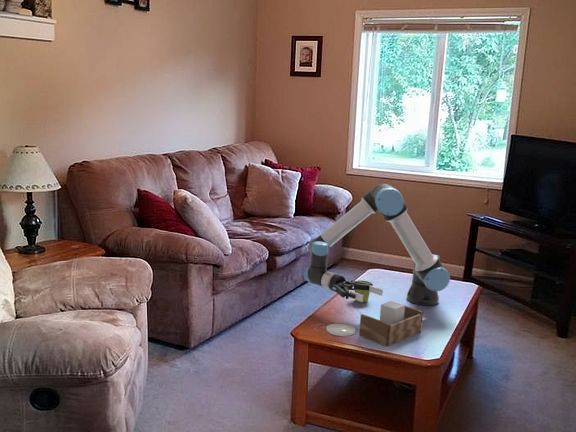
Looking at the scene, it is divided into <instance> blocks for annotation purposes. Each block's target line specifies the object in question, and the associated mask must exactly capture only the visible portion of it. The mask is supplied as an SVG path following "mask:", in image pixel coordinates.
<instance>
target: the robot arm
mask: <svg viewBox="0 0 576 432" xmlns="http://www.w3.org/2000/svg"><path fill="white" fill-rule="evenodd" d="M408 208H409V207H408V205H407V204H406V202H405V200H404V196H403V194H402V193H401V192H400V191H399V190H398V189H397V188H395V187H393V186H392V185H390V184H388V183H379V184H376V185H375V186H374V187H373V188H371V189H370V190H369V191H368V192H366V193H365V194H364V195H363V196H362V197H361V200H360V201H359V202H358V203H357V204H355V205H354V206H353V207H352V208H351V209H349V211H347V212H346V213H345V214H344V215H342V216H341V217H340V218H338V220H337V221H335V222H334V223H333V224H331V225H330V226H328V228H327V229H326V230H324V231H323V232H322V233H321V234H320V235H318V236H317V237H314V238H311V239H310V241H309V242H308V245H307V247H308V248H307V249H308V252H309V254H310V264H309V266H307V267H306V268H305V270H304V273H303V278H304V280H305V281H307V282H309V283H310V284H312V285H316V286H318V287H322V288H323V289H324V288H325V289H327V290H328V291H329V290H331V291H332V292H335V293H336V294H337V295H339V296H340V297H341V298H343V299H344V298H345V299H346V300H349V299H352V300H355V301H356V300H358V301H361V302H360V303H364V302H363V295H361V294H358V293H356V292H355V290H356V289H357V290H367V291H369V292H370V293H373V294H375V295H377V296H381V297H382V296H383V292H384V289H383V288H379V287H376V286H374V284H373V282H371V283H365V282H359V281H358V280H354V279H351V280H346V277H345V276H343V275H340V274H337V273H336V272H332V271H329V270H327V268H328V258H329V252H330V251H329V249H330V248H331V247H333V246H334V245H335V244H336V243H338V241H340V240H341V239H342V238H343V237H344V236H346V235H347V234H348V233H350V232H351V231H352V230H353V229H354V228H356V227H358V225H359V224H361V222H363V221H364V220H365V219H367V218H368V217H369V216H370V215H371V214H376V213H377V212H379V213H380V215H381V217H382V218H383V219H384V221H385V222H387V223H388V222H389V223H390V225H391V226H392V228H393V229H394V231H395V233H396V235H397V236H398V238H399V239H400V241H401V243H402V244H403V246H404V247H405V249H406V250H407V253H408V254H409V256H410V257H411V258H412V260H413V269H412V280H411V284H410V287H409V289H408V291H407V293H406V300H407V301H408V302H410V303H413V304H416V305H418V306H419V305H421V306H434V305H437V304H439V301H440V296H439V292H440V291H443V290H445V289H446V288H447V287H448V286H449V284H450V282H451V281H450V280H451V276H450V273H449V271H448V269H446V268H445V267H444V265H443V263H442V262H441V260H440V255H438V254H433V253H432V252H431V251H430V248H429V247H428V246H427V245H428V244H426V242H425V240H424V239H423V237H422V236H421V234H420V232H419V231H418V229H417V227H416V226H415V223H414V222H413V221H412V218H411V217H410V215H409V214H408Z"/></svg>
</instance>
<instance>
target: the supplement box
mask: <svg viewBox="0 0 576 432" xmlns="http://www.w3.org/2000/svg"><path fill="white" fill-rule="evenodd" d="M405 306H406V305H405V304H401V303H398V302H395V301H392V300H390V301H386V302H384V303H382V304H380V310H379V311H380V312H379V320H380V321H383V322H386V323H389V324H391V325H392V324H395V323H397V322H400V321H402V320H404V311H405Z"/></svg>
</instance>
